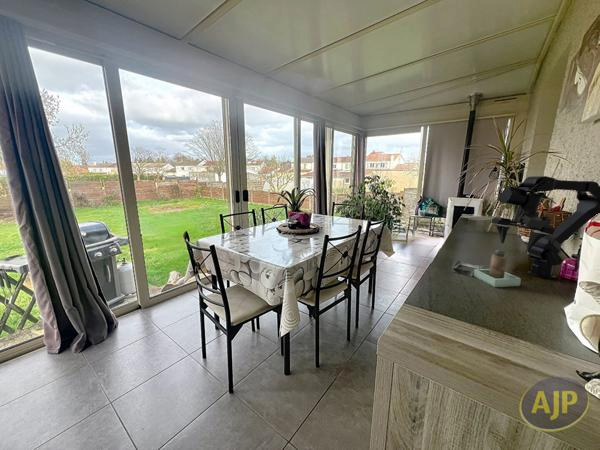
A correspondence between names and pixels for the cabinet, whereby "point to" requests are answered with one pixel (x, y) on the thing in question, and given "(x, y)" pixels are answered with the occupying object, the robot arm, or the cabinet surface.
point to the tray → (503, 282)
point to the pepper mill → (498, 264)
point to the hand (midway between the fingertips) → (515, 246)
